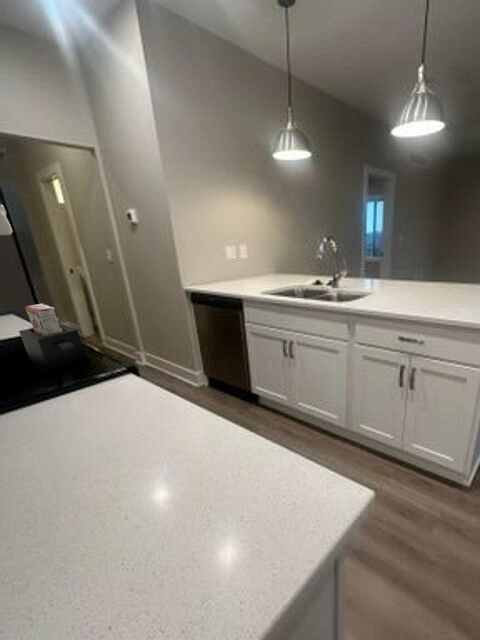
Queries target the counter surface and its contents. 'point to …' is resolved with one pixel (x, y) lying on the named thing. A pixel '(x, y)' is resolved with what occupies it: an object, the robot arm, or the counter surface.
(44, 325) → the candy bar box
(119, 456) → the counter surface
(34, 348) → the dark grey storage bin
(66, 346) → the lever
